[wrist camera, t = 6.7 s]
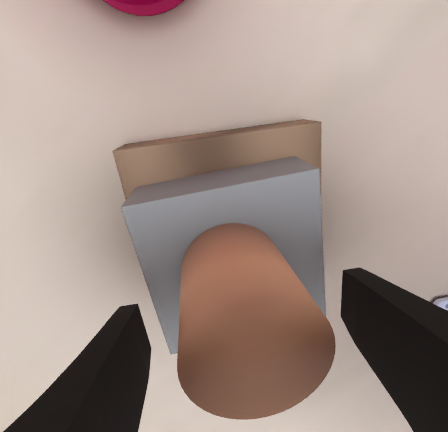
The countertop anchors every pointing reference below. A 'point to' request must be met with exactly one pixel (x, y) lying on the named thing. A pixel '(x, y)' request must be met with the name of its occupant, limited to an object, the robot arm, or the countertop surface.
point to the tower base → (216, 152)
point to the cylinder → (247, 327)
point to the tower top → (222, 214)
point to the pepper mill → (144, 6)
